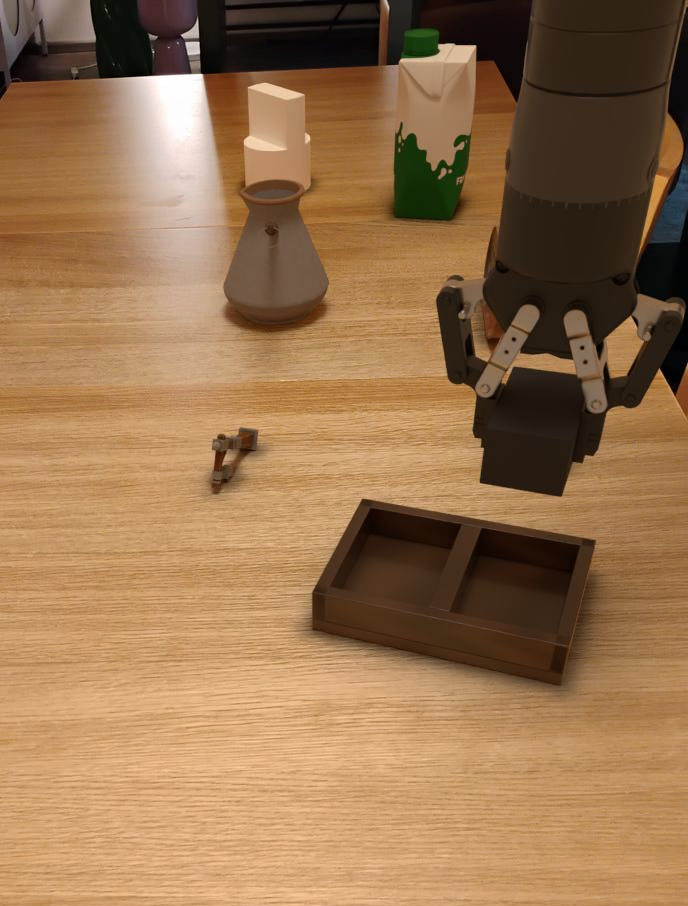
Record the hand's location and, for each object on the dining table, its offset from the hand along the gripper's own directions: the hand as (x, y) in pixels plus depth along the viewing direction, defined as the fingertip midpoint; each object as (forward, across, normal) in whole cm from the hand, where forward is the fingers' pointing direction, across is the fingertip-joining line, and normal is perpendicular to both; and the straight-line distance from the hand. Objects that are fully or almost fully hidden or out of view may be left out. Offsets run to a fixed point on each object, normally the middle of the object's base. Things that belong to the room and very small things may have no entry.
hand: (533, 448), depth 65 cm
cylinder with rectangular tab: (+14, +47, -78) cm, 92 cm away
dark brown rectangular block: (+1, 0, 0) cm, 1 cm away
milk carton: (+14, +25, -74) cm, 80 cm away
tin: (+14, +10, -45) cm, 48 cm away
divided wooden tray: (+14, +4, 0) cm, 14 cm away
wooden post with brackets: (+14, +26, -11) cm, 31 cm away
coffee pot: (+14, +32, -37) cm, 51 cm away
